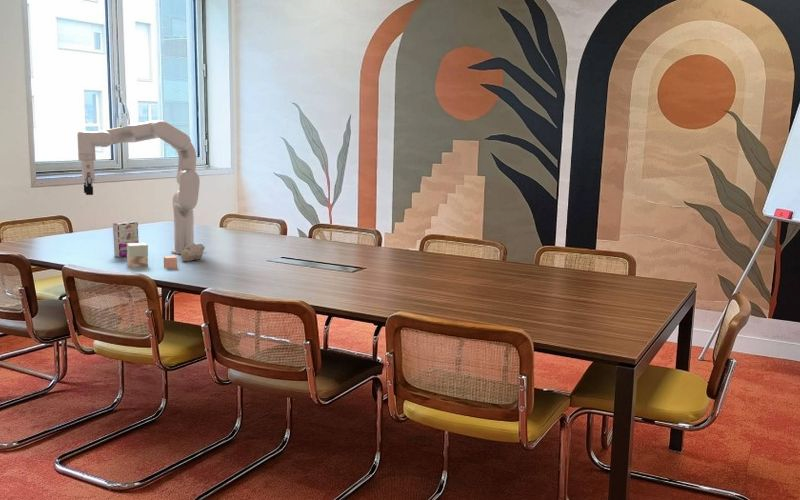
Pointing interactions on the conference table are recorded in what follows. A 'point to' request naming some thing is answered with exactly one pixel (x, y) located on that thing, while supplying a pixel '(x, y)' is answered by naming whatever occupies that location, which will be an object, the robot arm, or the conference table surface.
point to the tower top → (137, 249)
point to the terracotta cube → (170, 261)
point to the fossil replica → (192, 252)
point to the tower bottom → (137, 261)
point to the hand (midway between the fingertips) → (88, 193)
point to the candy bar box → (124, 237)
